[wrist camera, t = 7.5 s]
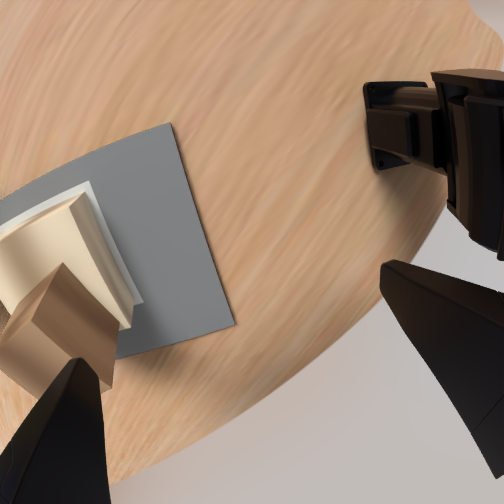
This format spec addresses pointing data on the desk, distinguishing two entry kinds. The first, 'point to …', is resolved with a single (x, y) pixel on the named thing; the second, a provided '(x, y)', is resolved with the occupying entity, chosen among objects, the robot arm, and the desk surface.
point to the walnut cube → (58, 333)
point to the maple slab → (63, 257)
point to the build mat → (141, 235)
